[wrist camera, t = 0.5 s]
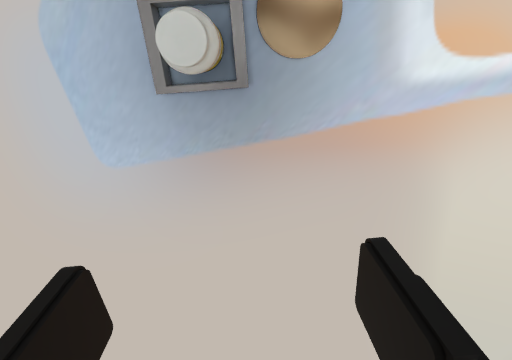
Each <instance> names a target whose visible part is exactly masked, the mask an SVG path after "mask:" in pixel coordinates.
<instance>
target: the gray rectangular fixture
mask: <svg viewBox="0 0 512 360" xmlns="http://www.w3.org/2000/svg"><path fill="white" fill-rule="evenodd" d="M218 3H230V12H231V23H232V34H233V45H234V55H235V66H236V77H237V80H228V81H214V82H201V83H188V84H174V85H172V83H171V78H170V72H169V67H168V63H167V62H166V61H165V60H164V58H163V57H162V55H161V53H160V51H159V49H158V47H157V44H156V39H155V32H156V27H157V24H158V22H159V20H160V18H159V13H158V8H161V7H175V6H189V5H203V4H218ZM137 5H138V9H139V14H140V19H141V23H142V28H143V33H144V38H145V42H146V47H147V52H148V57H149V61H150V66H151V71H152V75H153V80H154V85H155V90H156V94H167V93H180V92H194V91H207V90H220V89H233V88H247V87H248V75H247V61H246V48H245V34H244V21H243V8H242V0H137Z"/></svg>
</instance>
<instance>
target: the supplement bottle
mask: <svg viewBox="0 0 512 360" xmlns="http://www.w3.org/2000/svg"><path fill="white" fill-rule="evenodd" d="M155 39H156V44H157V47H158V49H159V51H160V53H161V55H162V57H163V58H164V60H165V61H166V62H167V63H168V64H169V65H170V66H171V67H172V68H173V69H175V70H176V71H178V72H181V73H184V74H190V75H192V74H199V73H203V72H206V71H209V70H212V69H213V68H215V67H216V66H217V65H218V64H219V62H220V60H221V58H222V56H223V52H224V42H223V38H222V35H221V33H220V31H219V29H218V28H217V27H216V26H215V25H214V23H213V22H212V21H211V20H210V18H209V17H208V16H207V15H206V14H204V13H203V12H201V11H200V10H198V9H196V8H193V7H187V6H182V7H177V8H174V9H172V10H170V11H169V12H168V13H166V14H165V15H164V16H163V17H162V18H161V19H160V20H159V22H158V24H157V27H156V32H155Z"/></svg>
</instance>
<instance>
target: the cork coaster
mask: <svg viewBox="0 0 512 360" xmlns="http://www.w3.org/2000/svg"><path fill="white" fill-rule="evenodd" d="M341 15H342V0H258V3H257V21H258V26H259V29H260V32H261V34H262V36H263V38H264V40H265V41H266V43H267V44H268V45H269V46H270V48H272V49H273V50H274V51H275V52H277V53H278V54H280V55H282V56H285V57H288V58H305V57H308V56H311V55H313V54H316V53H317V52H319V51H320V50H322V49H323V48H324V47H325V46H326V45H327V44H328V43H329V42H330V40H331V39H332V38H333V36H334V34H335V33H336V31H337V29H338V26H339V23H340V20H341Z"/></svg>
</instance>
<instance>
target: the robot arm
mask: <svg viewBox="0 0 512 360" xmlns="http://www.w3.org/2000/svg"><path fill="white" fill-rule="evenodd" d="M355 303H356V308H357V311H358V313H359V315H360V317H361V320H362V322H363V324H364V326H365V328H366V330H367V332H368V335H369V337H370V339H371V341H372V343H373V346H374V348H375V350H376V352H377V354H378V357H379V359H380V360H489V359H488V357H487V356H486V355H485V354H484V353H483V351H482V350H481V349H480V348H479V347H478V345H477V344H476V343H475V342H474V340H473V339H472V338H471V337H470V335H469V334H468V333H467V332H466V331H465V329H464V328H463V327H462V326H461V325H460V323H459V322H458V321H457V320H456V318H455V317H454V316H453V315H452V314H451V313H450V311H449V310H448V309H447V308H446V307H445V305H444V304H443V303H442V301H441V300H440V299H439V298H438V297H437V295H436V294H435V293H434V292H433V291H432V289H431V288H430V287H429V286H428V285H427V283H426V282H425V281H424V280H423V279H422V278H421V277H420V276H418V275H415V274H414V272H413V271H412V270H411V269H410V268H409V266H408V265H407V264H406V263H405V261H404V260H403V259H402V258H401V256H400V255H399V254H398V253H397V251H396V250H395V249H394V248H393V246H392V245H391V244H390V243H389V241H388V240H387V239H386V238H384V237H379V238H368V239H366V241H365V243H362V244H361V246H360V256H359V266H358V276H357V286H356V296H355ZM112 330H113V324H112V321H111V319H110V316H109V314H108V311H107V309H106V307H105V305H104V303H103V300H102V298H101V295H100V293H99V291H98V289H97V286H96V284H95V282H94V279H93V277H92V275H91V273H90V271H89V270H86V269H85V267H83V266H74V267H64V268H62V269H60V270H59V271H58V272H57V273H56V275H55V276H54V277H53V278H52V279H51V280H50V282H49V283H48V284H47V285H46V286H45V287H44V288H43V290H42V291H41V292H40V293H39V294H38V295H37V296H36V298H35V299H34V300H33V301H32V302H31V303H30V305H29V306H28V307H27V308H26V309H25V310H24V312H23V313H22V314H21V315H20V316H19V317H18V319H16V321H15V322H14V323H13V324H12V325H11V327H10V328H9V329H8V330H7V331H6V332H5V333H4V334H3V336H2V337H1V338H0V360H100V357H101V355H102V353H103V351H104V349H105V347H106V345H107V342H108V341H109V339H110V336H111V334H112Z"/></svg>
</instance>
